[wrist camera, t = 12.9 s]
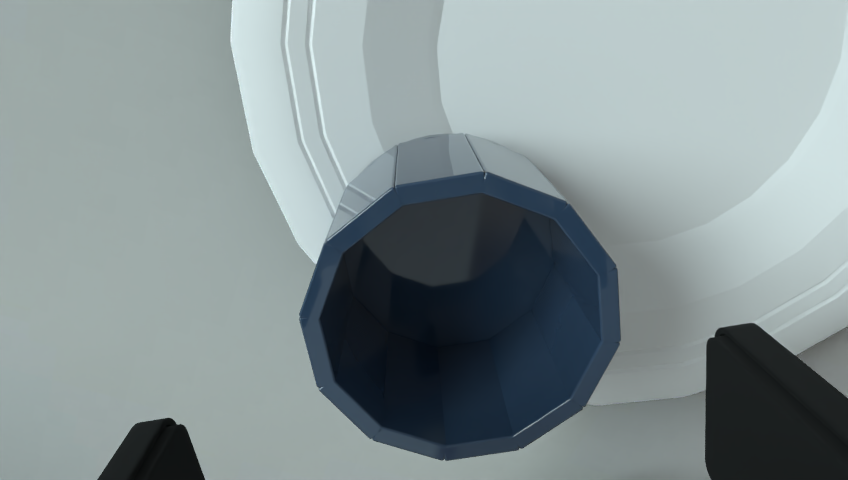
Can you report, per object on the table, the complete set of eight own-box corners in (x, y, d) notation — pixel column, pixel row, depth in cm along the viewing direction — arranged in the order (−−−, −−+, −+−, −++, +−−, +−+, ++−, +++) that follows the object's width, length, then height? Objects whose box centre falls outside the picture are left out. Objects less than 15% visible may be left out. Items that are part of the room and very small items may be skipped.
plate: (121, 177, 20) (93, 192, 18) (546, -757, 13) (568, -884, 11) (675, 471, 25) (696, 506, 23) (1197, -86, 18) (1284, -98, 16)
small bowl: (357, 364, 21) (340, 477, 15) (308, 154, 18) (268, 206, 13) (570, 331, 20) (626, 435, 15) (553, 114, 18) (612, 150, 13)
